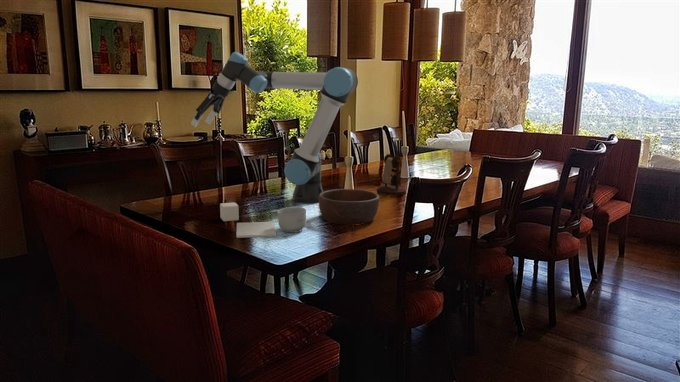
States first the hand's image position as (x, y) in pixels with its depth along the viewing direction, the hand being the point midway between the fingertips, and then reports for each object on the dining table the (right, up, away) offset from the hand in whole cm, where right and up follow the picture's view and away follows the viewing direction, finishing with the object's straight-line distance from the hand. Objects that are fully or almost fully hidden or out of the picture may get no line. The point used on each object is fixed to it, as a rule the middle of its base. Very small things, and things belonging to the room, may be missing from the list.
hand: (200, 124), depth 234 cm
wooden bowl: (+67, -42, -22) cm, 82 cm away
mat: (+32, -45, -40) cm, 68 cm away
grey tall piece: (+89, -32, +26) cm, 98 cm away
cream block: (+19, -42, -25) cm, 52 cm away
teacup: (+45, -45, -38) cm, 74 cm away
